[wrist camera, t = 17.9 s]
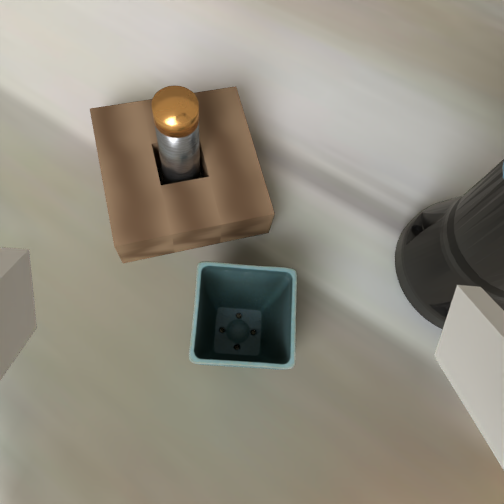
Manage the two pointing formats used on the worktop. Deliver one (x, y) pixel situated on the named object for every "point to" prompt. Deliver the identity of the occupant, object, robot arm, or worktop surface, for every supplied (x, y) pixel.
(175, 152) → the metal pin
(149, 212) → the block
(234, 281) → the flower pot
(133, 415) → the worktop surface
